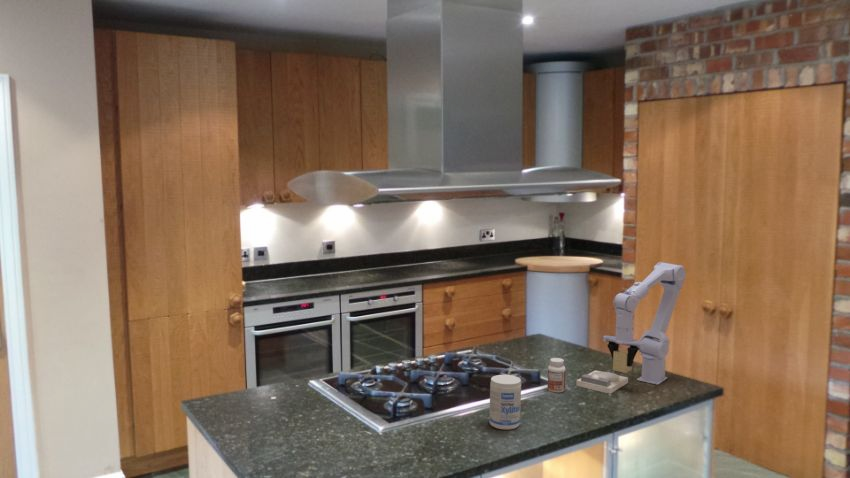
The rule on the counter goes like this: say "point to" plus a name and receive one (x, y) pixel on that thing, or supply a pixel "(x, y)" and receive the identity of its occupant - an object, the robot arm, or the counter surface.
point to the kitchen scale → (602, 381)
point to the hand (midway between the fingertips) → (622, 364)
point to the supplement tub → (505, 401)
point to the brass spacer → (621, 360)
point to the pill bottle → (556, 375)
